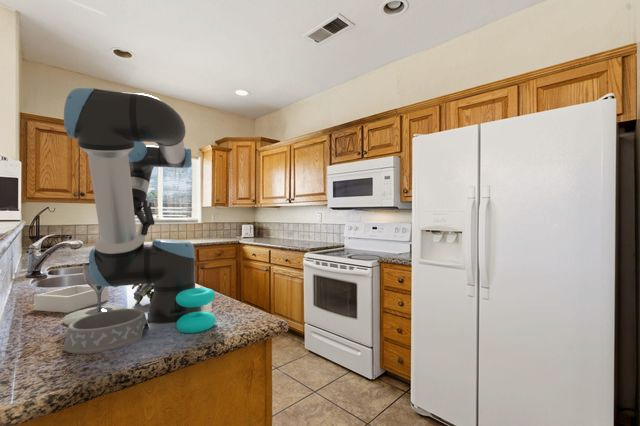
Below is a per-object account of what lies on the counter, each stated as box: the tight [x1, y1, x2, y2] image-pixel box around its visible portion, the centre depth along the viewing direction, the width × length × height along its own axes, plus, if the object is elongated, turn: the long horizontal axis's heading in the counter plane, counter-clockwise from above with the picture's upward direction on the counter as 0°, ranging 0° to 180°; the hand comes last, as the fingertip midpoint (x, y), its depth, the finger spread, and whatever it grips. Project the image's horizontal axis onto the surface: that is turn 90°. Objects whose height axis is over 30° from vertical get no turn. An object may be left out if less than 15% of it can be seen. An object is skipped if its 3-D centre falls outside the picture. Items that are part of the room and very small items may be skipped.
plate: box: [62, 305, 125, 326], centre depth 96 cm, size 15×15×1 cm
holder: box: [33, 284, 109, 314], centre depth 110 cm, size 14×14×5 cm
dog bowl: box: [62, 308, 150, 354], centre depth 80 cm, size 17×18×5 cm
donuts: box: [175, 287, 216, 334], centre depth 85 cm, size 10×10×10 cm
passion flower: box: [131, 283, 154, 306], centre depth 110 cm, size 11×11×12 cm
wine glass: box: [82, 262, 113, 315], centre depth 98 cm, size 8×8×15 cm
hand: (123, 246), depth 109 cm, fingers open, 13 cm apart
